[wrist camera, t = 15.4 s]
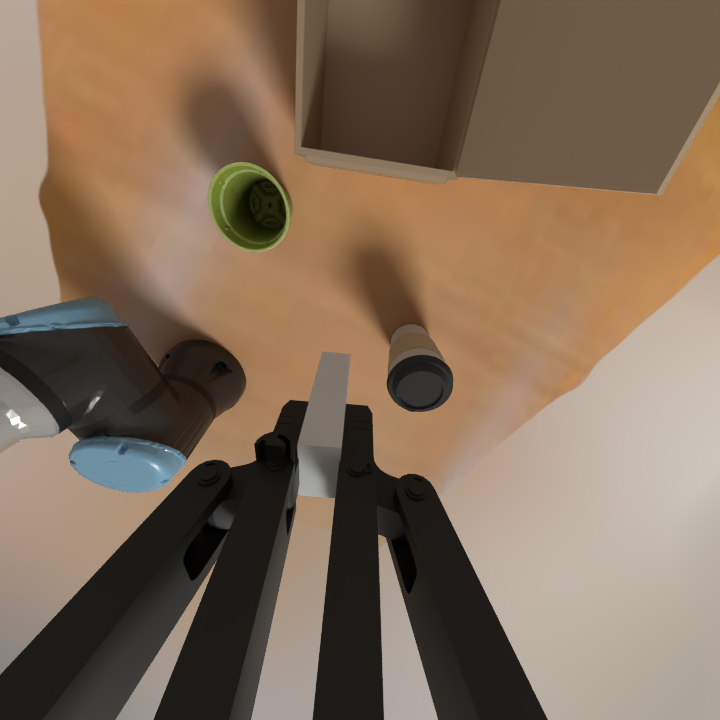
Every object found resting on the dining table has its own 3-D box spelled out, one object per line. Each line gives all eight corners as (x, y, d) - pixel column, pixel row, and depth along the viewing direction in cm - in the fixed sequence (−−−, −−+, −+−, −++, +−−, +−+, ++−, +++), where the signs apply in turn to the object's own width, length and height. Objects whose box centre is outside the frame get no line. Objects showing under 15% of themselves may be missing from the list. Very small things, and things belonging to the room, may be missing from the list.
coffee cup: (409, 307, 48) (422, 351, 35) (447, 339, 51) (472, 391, 38) (373, 344, 52) (373, 397, 39) (411, 372, 55) (422, 430, 42)
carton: (315, 166, 39) (294, 159, 29) (328, -92, 28) (301, -252, 18) (434, 185, 40) (455, 185, 29) (491, -62, 29) (555, -200, 19)
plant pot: (305, 243, 44) (291, 255, 37) (242, 238, 44) (215, 249, 37) (303, 169, 39) (286, 165, 32) (233, 163, 39) (199, 158, 32)
